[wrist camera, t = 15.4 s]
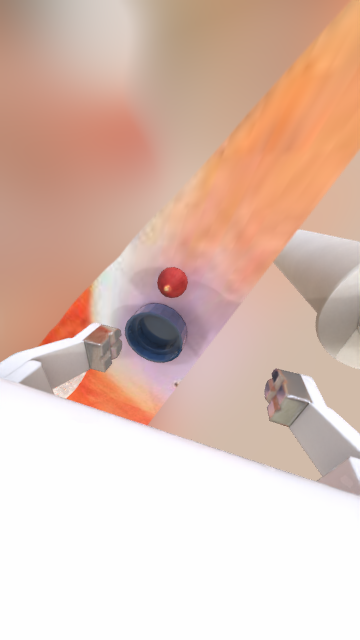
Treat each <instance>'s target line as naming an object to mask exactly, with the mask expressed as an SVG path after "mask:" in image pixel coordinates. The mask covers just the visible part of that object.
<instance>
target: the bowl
mask: <svg viewBox="0 0 360 640" xmlns="http://www.w3.org/2000/svg"><path fill="white" fill-rule="evenodd" d="M125 336H126V339H127V341H128V343H129V345H130V346H131V348H132V349H133V350H134V351H135V352H136V353H137V354H138V355H140V356H141V357H143V358H145V359H147V360H150V361H153V362H162V363H164V362H168V361H172V360H173V359H175V358H176V357H178V355H179V354H180V352H181V351H182V348H183V346H184V343H185V340H186V336H187V329H186V324H185V322H184V321H183V319H182V317H181V316H180V315H179V314H178V313H177V312H176V311H175V310H174V309H172V308H170V307H168V306H166V305H162V304H158V303H155V304H147V305H145V306H143V307H141V308H140V309H139V310H138V311H137V312H136V313H135V314H134V315H133V316H132V317H131V318H130V319H129V320H128V321H127V324H126V327H125Z"/></svg>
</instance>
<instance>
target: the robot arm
mask: <svg viewBox="0 0 360 640" xmlns="http://www.w3.org/2000/svg"><path fill="white" fill-rule="evenodd" d="M358 331H359V334H360V318H359V321H358ZM120 336H121V330H120V329H117V328H114V327H110V326H106V325H102V324H99V323H92V324H91V325H89V326H88V327H87V328H85V329H84V330H83V331H81V332H80V333H79V334H77V335H76V336H75V337H73V338H67V339H64V340H60V341H57V342H53V343H50V344H46V345H43V346H39V347H36V348H33V349H29V350H25V351H22V352H18V353H15V354H13V355H12V356H10V357H8V358H7V359H5V360H4V361H2V362H1V363H0V640H360V434H359V433H358V432H357V431H356V430H355V429H353V428H352V427H351V426H350V425H349V424H348V423H347V422H346V421H344V420H343V419H342V418H341V417H340V416H339V415H338V414H337V413H336V412H334V411H333V410H332V409H331V408H327V406H326V404H325V402H324V400H323V398H322V396H321V394H320V392H319V390H318V388H317V386H316V384H315V382H314V380H313V378H311V377H310V376H306V375H302V374H297V373H293V372H288V371H284V370H280V369H275V370H274V371H273V372H272V379H270V380H268V381H267V383H266V387H265V399H266V400H267V402H268V403H269V405H268V407H267V410H268V416H269V421H272V422H275V423H278V424H281V425H284V426H287V427H289V428H290V430H291V432H292V433H293V435H294V436H295V438H296V439H297V440H298V442H299V443H300V445H301V446H302V448H303V449H304V451H305V452H306V453H307V455H308V456H309V458H310V459H311V461H312V462H313V463H314V465H315V467H316V468H317V469H318V471H319V472H320V474H321V475H322V477H321V478H320V479H319V480H317V481H313V480H310V479H307V478H304V477H301V476H298V475H295V474H292V473H289V472H286V471H283V470H280V469H277V468H274V467H271V466H268V465H264V464H261V463H259V462H256V461H253V460H249V459H246V458H244V457H241V456H237V455H234V454H231V453H228V452H225V451H222V450H219V449H216V448H213V447H210V446H207V445H204V444H201V443H198V442H195V441H192V440H189V439H186V438H183V437H180V436H176V435H174V434H171V433H168V432H165V431H162V430H158V429H156V428H153V427H149V426H147V425H144V424H141V423H138V422H135V421H131V420H128V419H125V418H122V417H119V416H116V415H113V414H110V413H107V412H104V411H101V410H98V409H95V408H92V407H89V406H86V405H83V404H80V403H77V402H74V401H71V400H68V399H65V398H62V397H59V396H56V395H54V392H53V390H52V389H54V388H56V387H58V386H60V385H62V384H63V383H65V382H67V381H69V380H71V379H73V378H75V377H76V376H78V375H80V374H82V373H84V372H86V371H88V370H90V369H94V370H98V371H101V372H105V371H106V370H107V369H108V368H109V366H110V365H111V364H112V360H113V359H115V358H117V357H118V355H119V354H120V351H121V349H122V341H121V340H120V339H119V337H120Z"/></svg>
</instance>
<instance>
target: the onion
mask: <svg viewBox="0 0 360 640" xmlns="http://www.w3.org/2000/svg"><path fill="white" fill-rule="evenodd" d="M187 283H188V281H187V277H186V275H185V273H184V272H183V271H182V270H180V269H178V268H175V267H171V268H166V269H165V270H163V271H162V272H161V274H160V275H159V277H158V281H157V284H158V289H159V290H160V292H161V293H162V294H163V295H164V296H166V297H170V298H175V297H178V296H180V295H182V294H183V293H184V291H185V290H186V288H187Z"/></svg>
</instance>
